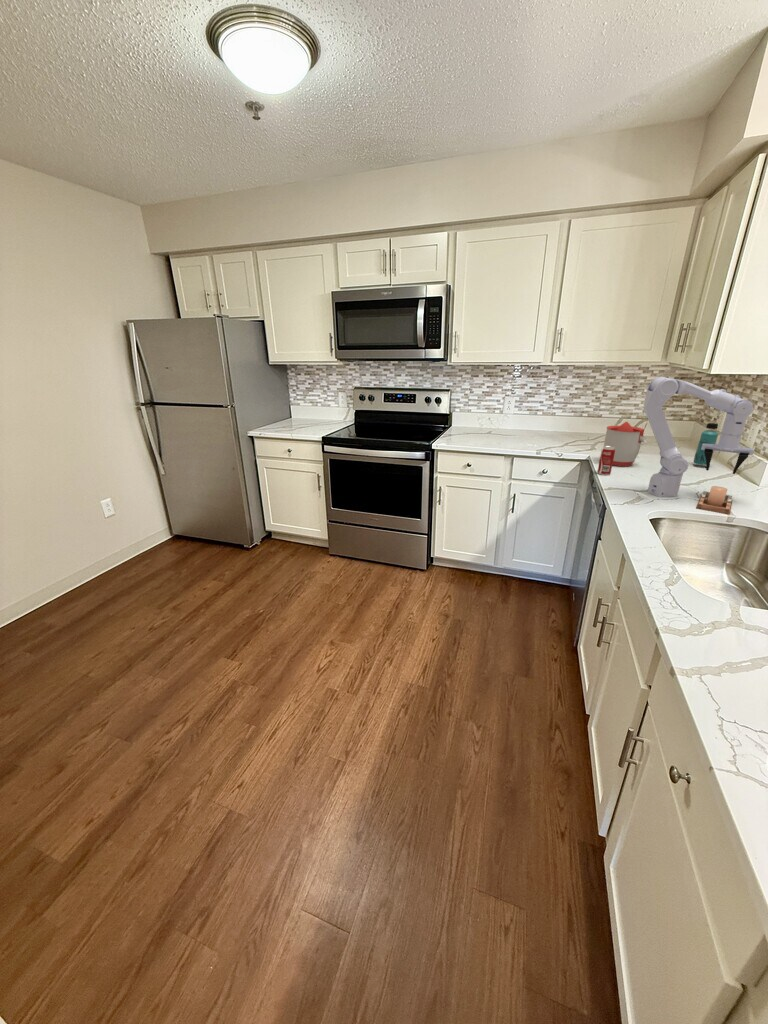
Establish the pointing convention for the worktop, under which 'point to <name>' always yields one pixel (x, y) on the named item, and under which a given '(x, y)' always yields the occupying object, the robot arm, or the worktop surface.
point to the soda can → (606, 460)
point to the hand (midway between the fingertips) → (720, 471)
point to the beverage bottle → (705, 438)
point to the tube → (716, 496)
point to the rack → (724, 509)
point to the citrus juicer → (624, 443)
